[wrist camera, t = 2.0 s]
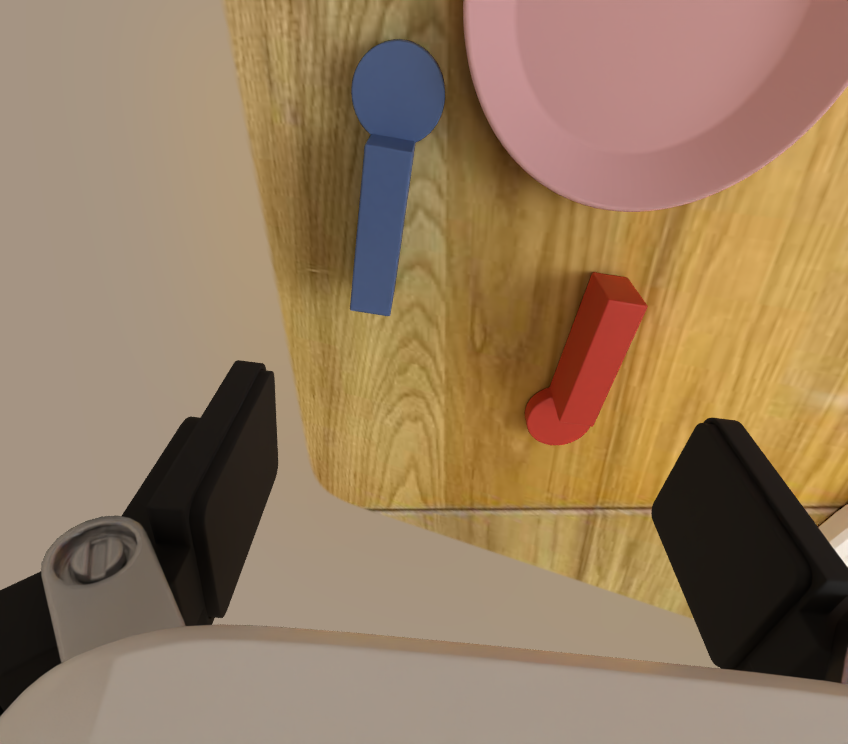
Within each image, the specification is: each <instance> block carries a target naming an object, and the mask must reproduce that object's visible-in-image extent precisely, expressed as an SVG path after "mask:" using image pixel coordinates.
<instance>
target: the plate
mask: <svg viewBox="0 0 848 744" xmlns="http://www.w3.org/2000/svg"><path fill="white" fill-rule="evenodd" d="M463 23H464V37H465V45H466V53H467V58H468V64H469V69H470V73H471V77H472V81H473V84H474V87H475V91H476V94H477V97H478V99H479V102H480V105H481V107H482V109H483V112H484V114H485V116H486V118H487V120H488V122H489V124H490V126H491V128H492V129H493V131H494V133H495V135H496V136H497V138H498V139H499V141H500V142H501V144H502V145H503V147H504V148H505V149H506V151H507V152H508V153H509V154H510V156H511V157H512V158H513V159H514V160H515V161H516V162H517V163H518V164H519V165H520V166H521V167H522V168H523V169H524V170H525V171H526V172H527V173H528V174H529V175H530V176H532V177H533V178H534V179H535V180H537V181H538V182H539V183H541V184H542V185H544V186H545V187H547V188H548V189H550V190H552V191H553V192H555V193H557V194H559V195H561V196H563V197H565V198H567V199H570V200H572V201H575V202H577V203H580V204H583V205H587V206H591V207H594V208H599V209H605V210H612V211H624V212H640V211H652V210H660V209H666V208H671V207H676V206H680V205H684V204H687V203H691V202H694V201H697V200H700V199H703V198H705V197H708V196H710V195H713V194H715V193H718V192H720V191H722V190H724V189H726V188H728V187H730V186H732V185H734V184H736V183H738V182H740V181H742V180H743V179H745V178H747V177H749V176H750V175H752V174H753V173H755V172H757V171H758V170H760V169H761V168H763V167H764V166H766V165H767V164H768V163H770V162H771V161H773V160H774V159H775V158H777V157H778V156H779V155H781V154H782V153H783V152H784V151H785V150H787V149H788V148H789V147H790V146H792V145H793V144H794V143H795V142H796V141H797V140H798V139H799V138H801V137H802V136H803V135H804V134H805V133H806V132H807V131H808V130H809V129H810V128H811V127H812V126H813V125H814V124H815V123H816V122H817V121H818V120H819V119H820V118H821V117H822V116H823V115H824V114H825V112H826V111H827V110H828V109H829V108H830V107H831V106H832V105H833V103H834V102H835V101H836V100H837V98H838V97H839V96H840V95H841V94H842V92H843V91H844V90H845V88H846V87H847V86H848V0H463Z"/></svg>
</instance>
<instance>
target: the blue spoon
mask: <svg viewBox="0 0 848 744" xmlns="http://www.w3.org/2000/svg"><path fill="white" fill-rule="evenodd" d="M351 94H352V102H353V107H354V110H355V113H356V115H357V117H358V119H359V121H360V123H361V124H362V126H363V127H364V128H365V129H366V131H367V132H368V133H370V134H371V136H370V137H369V139H368V141H367V142H366V144H365V148H364V159H363V170H362V181H361V192H360V203H359V215H358V226H357V237H356V248H355V259H354V270H353V281H352V292H351V303H350V310H352V311H358V312H365V313H371V314H378V315H384V316H390V313H391V307H392V302H393V296H394V290H395V283H396V276H397V269H398V262H399V255H400V248H401V241H402V234H403V227H404V220H405V213H406V206H407V199H408V192H409V185H410V178H411V171H412V164H413V157H414V150H415V143H416V142H418V141H420V140H422V139H423V138H424V137H426V136H427V135H428V134H429V133H430V132H431V131H432V130H433V129H434V128H435V126H436V125H437V123H438V121H439V119H440V117H441V114H442V111H443V107H444V102H445V86H444V79H443V75H442V72H441V70H440V67H439V66H438V64H437V62H436V60H435V59H434V58H433V56H432V55H431V54H430V53H429V52H428V51H427V50H426V49H425V48H423V47H422V46H420V45H419V44H416V43H414V42H412V41H408V40H402V39H394V40H389V41H385V42H383V43H380V44H378V45H377V46H375V47H373V48H372V49H371V50H369V51H368V52H367V53H366V54H365V55H364V56H363V58H362V59H361V60H360V62H359V64H358V66H357V68H356V70H355V73H354V76H353V80H352V93H351Z"/></svg>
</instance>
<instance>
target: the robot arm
mask: <svg viewBox="0 0 848 744" xmlns="http://www.w3.org/2000/svg"><path fill="white" fill-rule="evenodd" d="M274 382H275V381H274V373H273V372H272V371H266V367H265V365H264V364H263V363H255V362H247V361H239V360H238V361H235V363H234V364H233V366H232V367H231V369H230V371H229V372H228V374H227V376H226V377H225V379H224V380H223V382H222V384H221V385H220V387H219V389H218V390H217V392H216V393H215V395H214V397H213V398H212V400H211V402H210V403H209V405H208V407H207V408H206V410H205V411H204V413H203V415H202V416H201V418H197V417H188V418H186V419H185V420H184V422H183V423H182V424H181V425H180V427H179V429H178V430H177V432H176V433H175V435H174V436H173V438H172V439H171V441H170V442H169V444H168V446H167V447H166V448H165V450H164V452H163V453H162V455H161V456H160V458H159V459H158V461H157V463H156V464H155V466H154V467H153V469H152V470H151V472H150V473H149V475H148V476H147V478H146V479H145V481H144V482H143V484H142V486H141V487H140V489H139V490H138V492H137V493H136V495H135V496H134V498H133V499H132V501H131V502H130V504H129V505H128V507H127V509H126V510H125V512H124V513H123V515H122V516H105V517H99V518H95V519H92V520H88V521H85V522H83V523H81V524H79V525H77V526H75V527H73V528H71V529H70V530H68V531H67V532H65V533H64V534H63V535H61V536H60V537H59V538H57V540H56V541H55V542H54V543H53V544H52V545H51V547H50V548H49V549H48V550H47V552H46V554H45V556H44V559H43V561H42V567H41V572H39V573H37V574H34V575H33V576H30V577H28V578H26V579H24V580H22V581H19V582H17V583H16V584H13V585H11V586H9V587H7V588H5V589H2V590H0V744H848V567H847V566H846V564H845V563H844V562H843V560H842V559H841V558H840V556H839V555H838V554H837V552H836V551H835V550H834V548H833V547H832V545H831V544H830V543H829V541H828V540H827V539H826V537H825V536H824V535H823V533H822V532H821V531H820V529H819V528H818V527H817V525H816V524H815V523H814V521H813V520H812V518H811V517H810V516H809V514H808V513H807V512H806V510H805V509H804V508H803V506H802V505H801V504H800V502H799V501H798V500H797V498H796V497H795V495H794V494H793V493H792V491H791V490H790V489H789V487H788V486H787V485H786V483H785V482H784V481H783V479H782V478H781V477H780V475H779V474H778V473H777V471H776V470H775V468H774V467H773V466H772V464H771V463H770V462H769V460H768V459H767V458H766V456H765V455H764V454H763V452H762V451H761V450H760V448H759V447H758V445H757V444H756V443H755V441H754V440H753V439H752V437H751V436H750V435H749V433H748V432H747V431H746V429H745V428H744V427H743V425H742V424H741V423H740V422H738V421H735V420H727V419H719V418H708V419H707V420H705V421H704V423H699V424H698V425H697V426H696V427H695V429H694V431H693V433H692V434H691V436H690V438H689V440H688V442H687V443H686V445H685V447H684V449H683V451H682V452H681V454H680V456H679V458H678V460H677V462H676V463H675V465H674V467H673V469H672V471H671V472H670V474H669V476H668V478H667V480H666V481H665V483H664V485H663V487H662V489H661V491H660V492H659V494H658V496H657V498H656V500H655V501H654V503H653V506H652V519H653V522H654V524H655V527H656V529H657V532H658V534H659V536H660V539H661V541H662V544H663V546H664V548H665V551H666V553H667V555H668V558H669V560H670V563H671V565H672V567H673V570H674V572H675V575H676V577H677V579H678V582H679V584H680V587H681V589H682V591H683V594H684V596H685V598H686V601H687V603H688V606H689V608H690V610H691V613H692V615H693V618H694V620H695V622H696V624H697V627H698V629H699V632H700V634H701V637H702V639H703V641H704V644H705V646H706V649H707V651H708V653H709V656H710V658H711V660H712V661H713V663H714V664H715V665H716V666H718V667H720V668H721V669H719V668H709V667H700V666H689V665H680V664H670V663H660V662H652V661H641V660H632V659H622V658H612V657H602V656H592V655H582V654H572V653H562V652H552V651H542V650H531V649H521V648H511V647H501V646H490V645H479V644H470V643H458V642H447V641H437V640H426V639H416V638H405V637H394V636H383V635H373V634H361V633H350V632H338V631H324V630H312V629H298V628H286V627H273V626H272V627H271V626H253V625H212V623H213V621H214V618H215V617H217V618H223V617H224V615H225V613H226V611H227V608H228V606H229V604H230V600H231V598H232V595H233V593H234V590H235V587H236V584H237V582H238V579H239V576H240V573H241V571H242V568H243V565H244V563H245V560H246V557H247V555H248V552H249V549H250V546H251V544H252V541H253V538H254V535H255V533H256V530H257V527H258V525H259V522H260V519H261V516H262V513H263V511H264V508H265V505H266V503H267V500H268V497H269V495H270V492H271V489H272V486H273V484H274V481H275V478H276V474H277V469H278V448H277V427H276V404H275V383H274Z"/></svg>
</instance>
